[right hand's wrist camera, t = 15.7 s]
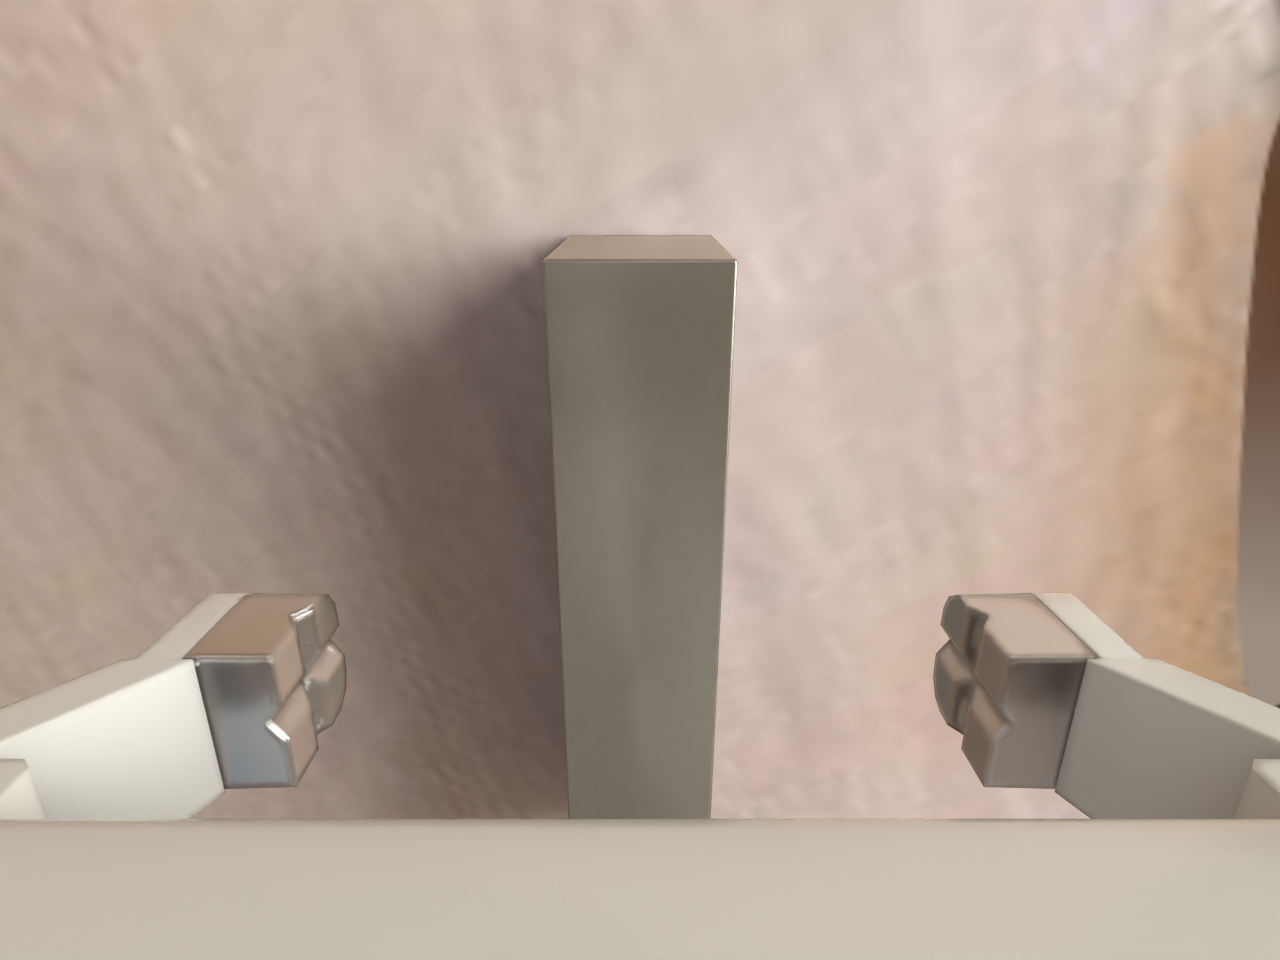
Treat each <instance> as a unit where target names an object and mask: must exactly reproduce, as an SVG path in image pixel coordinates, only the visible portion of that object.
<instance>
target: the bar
mask: <svg viewBox="0 0 1280 960" xmlns="http://www.w3.org/2000/svg"><path fill="white" fill-rule="evenodd" d="M737 265H738V262H737V260H736V259H735V258H734V257H733V256H732V255H731V254H730V253H729V252H728V251H727V250H726V249H725V248H724V247H723V246H722V245H721V244H720V243H719V242H718V241H717V240H716V239H715V238H714V237H713V236H711V235H571V236H569V237H568V238H567V239H566V240H565V241H564V242H563V243H562V244H560V245H559V246H558V247H557V248H556V249H555V250H554V251H553V252H552V253H551V254H549V255H548V256H547V257H546V258H545V259H544V260H543V280H544V301H545V323H546V344H547V365H548V387H549V408H550V429H551V451H552V472H553V493H554V515H555V536H556V557H557V579H558V600H559V621H560V642H561V664H562V685H563V706H564V728H565V749H566V770H567V792H568V813H569V819H711V799H712V779H713V758H714V738H715V717H716V697H717V676H718V655H719V635H720V614H721V594H722V573H723V553H724V532H725V512H726V491H727V471H728V450H729V429H730V409H731V388H732V368H733V347H734V327H735V306H736V286H737Z"/></svg>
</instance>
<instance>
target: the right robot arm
mask: <svg viewBox="0 0 1280 960" xmlns="http://www.w3.org/2000/svg"><path fill="white" fill-rule="evenodd" d="M338 626H339V620H338V615H337V610H336V605H335V602H334V601H333V600H332V599H331V597H330V596H329V595H322V594H268V593H254V594H252V593H250V592H245V593H216V594H207V595H206V596H205V597H204V598H203V599H202V600H201V601H200V602H199V603H197V604H196V605H195V606H194V607H193V608H192V609H191V610H190V611H189V612H187V613H186V614H185V615H184V616H183V617H182V618H181V619H180V620H179V621H177V622H176V623H175V624H174V625H173V626H172V627H171V628H170V629H169V630H168V631H166V632H165V633H164V634H163V635H162V636H161V637H160V638H159V639H158V640H156V641H155V642H154V643H153V644H152V645H151V646H150V647H149V648H148V649H146V650H145V651H144V652H143V653H142V654H141V655H140V656H139V657H138V658H136V659H122V660H119V661H117V662H114V663H112V664H110V665H107V666H105V667H102V668H100V669H97V670H95V671H92V672H90V673H87V674H85V675H82V676H80V677H77V678H75V679H72V680H70V681H67V682H65V683H62V684H60V685H57V686H55V687H52V688H50V689H47V690H45V691H43V692H40V693H38V694H35V695H33V696H30V697H28V698H25V699H23V700H20V701H18V702H15V703H13V704H10V705H8V706H5V707H3V708H0V960H1280V709H1279V708H1277V707H1274V706H1272V705H1269V704H1267V703H1264V702H1262V701H1260V700H1257V699H1255V698H1252V697H1250V696H1247V695H1245V694H1242V693H1240V692H1237V691H1235V690H1232V689H1230V688H1227V687H1225V686H1222V685H1220V684H1217V683H1215V682H1213V681H1210V680H1208V679H1205V678H1203V677H1200V676H1198V675H1195V674H1193V673H1190V672H1188V671H1185V670H1183V669H1180V668H1178V667H1175V666H1173V665H1170V664H1168V663H1166V662H1163V661H1161V660H1158V659H1144V658H1142V657H1141V656H1140V655H1139V654H1138V653H1137V652H1136V651H1135V650H1134V649H1133V648H1131V647H1130V646H1129V645H1128V644H1127V643H1126V642H1125V641H1124V640H1123V639H1121V638H1120V637H1119V636H1118V635H1117V634H1116V633H1115V632H1114V631H1113V630H1112V629H1110V628H1109V627H1108V626H1107V625H1106V624H1105V623H1104V622H1103V621H1102V620H1100V619H1099V618H1098V617H1097V616H1096V615H1095V614H1094V613H1093V612H1092V611H1091V610H1089V609H1088V608H1087V607H1086V606H1085V605H1084V604H1083V603H1082V602H1081V601H1079V600H1078V599H1077V598H1076V597H1075V596H1074V595H1071V594H1068V593H1064V592H1058V593H1035V594H1032V593H1015V594H974V595H954V596H949V597H948V599H947V601H946V604H945V606H944V608H943V614H942V620H941V626H942V628H943V629H944V631H945V632H946V634H947V635H948V637H949V638H950V640H949V641H948V642H947V643H946V644H945V645H944V646H943V647H942V648H941V649H940V650H939V651H938V652H937V653H936V657H935V665H934V673H933V679H934V690H935V698H936V701H937V704H938V707H939V710H940V712H941V714H942V716H943V718H944V720H945V721H946V723H947V725H949V726H950V727H952V728H953V729H955V730H957V731H958V732H960V733H961V734H963V735H964V736H963V742H962V748H961V749H962V751H963V752H964V754H965V756H966V757H967V759H968V761H969V762H970V764H971V766H972V768H973V769H974V771H975V773H976V774H977V776H978V778H979V779H980V781H981V783H982V784H983V786H984V787H1005V788H1042V789H1055V792H1056V793H1057V794H1058V795H1060V796H1061V797H1062V798H1064V799H1065V800H1066V801H1068V802H1069V803H1070V804H1072V805H1073V806H1074V807H1076V808H1077V809H1078V810H1080V811H1081V812H1082V813H1084V814H1085V815H1087V816H1088V817H1089V818H1091V819H190V818H191V817H192V816H194V815H195V814H196V813H198V812H199V811H200V810H202V809H203V808H204V807H206V806H207V805H209V804H210V803H211V802H213V801H214V800H215V799H217V798H218V797H219V796H221V795H222V794H223V793H225V790H224V789H237V788H273V787H296V786H297V784H298V783H299V781H300V779H301V778H302V776H303V774H304V773H305V771H306V769H307V768H308V766H309V764H310V763H311V761H312V759H313V757H314V756H315V754H316V752H317V751H318V749H319V748H318V742H317V736H316V735H317V734H319V733H320V732H322V731H323V730H325V729H327V728H328V727H330V726H331V725H333V723H334V721H335V720H336V718H337V716H338V714H339V712H340V710H341V708H342V703H343V699H344V695H345V691H346V663H345V657H344V653H343V652H342V651H341V650H340V649H339V648H338V647H337V646H336V645H335V644H334V643H333V642H332V641H331V640H330V638H331V637H332V635H333V634H334V632H335V631H336V629H337V628H338Z"/></svg>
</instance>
